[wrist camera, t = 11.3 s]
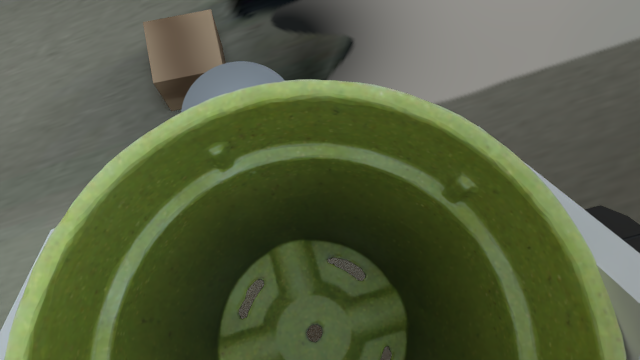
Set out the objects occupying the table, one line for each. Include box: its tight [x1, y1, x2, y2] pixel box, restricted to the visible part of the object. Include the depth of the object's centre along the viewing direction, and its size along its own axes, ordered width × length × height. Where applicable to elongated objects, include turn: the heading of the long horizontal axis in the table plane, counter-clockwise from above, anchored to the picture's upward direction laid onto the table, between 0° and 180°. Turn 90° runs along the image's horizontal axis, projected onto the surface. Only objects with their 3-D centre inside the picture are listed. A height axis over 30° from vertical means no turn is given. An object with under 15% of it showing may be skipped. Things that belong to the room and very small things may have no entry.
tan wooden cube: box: [143, 10, 226, 111], centre depth 37 cm, size 5×5×5 cm
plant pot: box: [4, 79, 627, 360], centre depth 11 cm, size 9×9×9 cm
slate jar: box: [181, 61, 285, 113], centre depth 34 cm, size 7×7×9 cm
